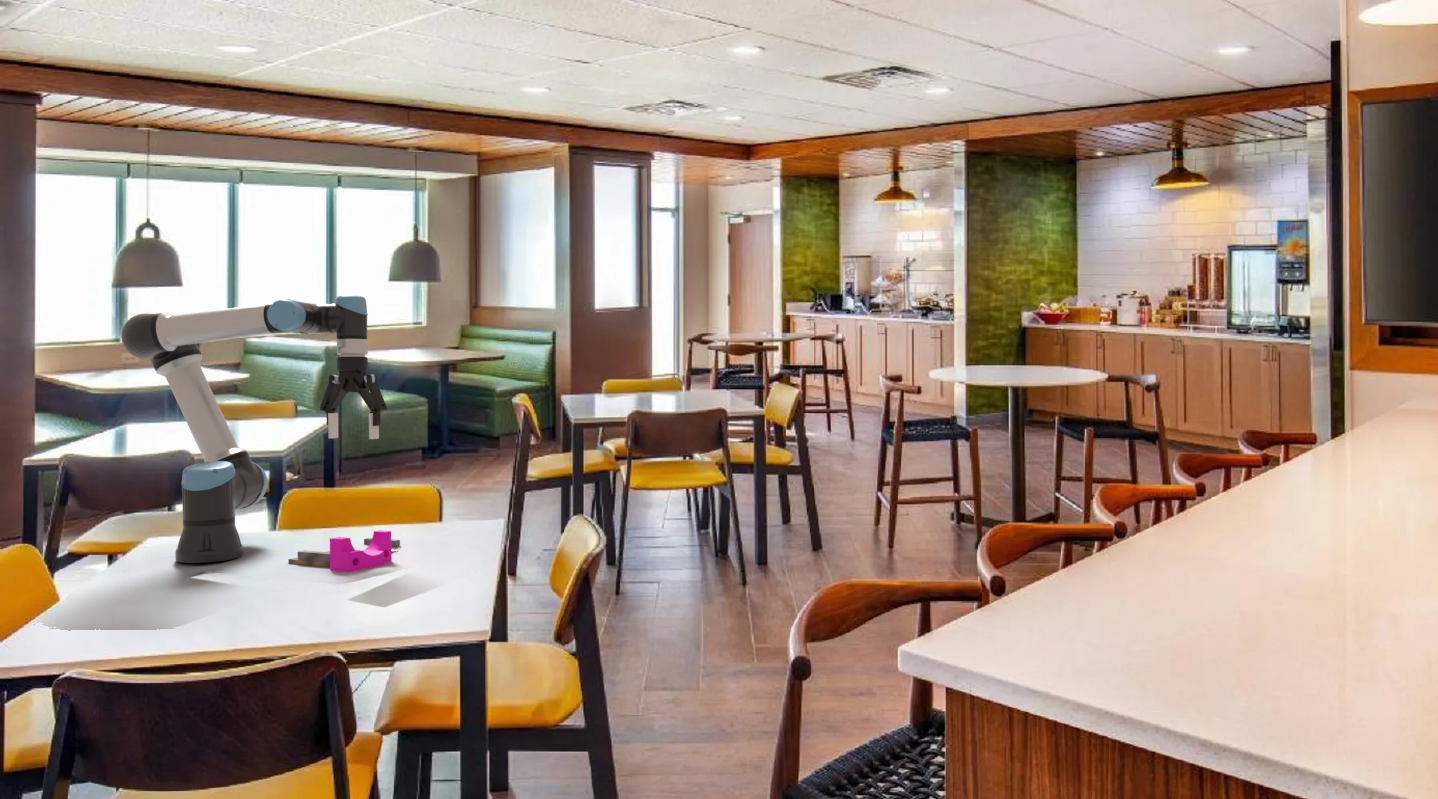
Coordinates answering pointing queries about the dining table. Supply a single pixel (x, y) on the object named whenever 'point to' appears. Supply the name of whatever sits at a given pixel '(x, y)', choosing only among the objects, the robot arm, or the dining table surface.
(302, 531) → the dining table surface
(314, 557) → the wooden serving tray
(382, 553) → the toy block
